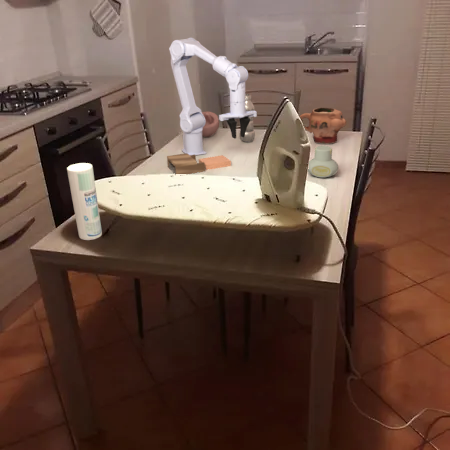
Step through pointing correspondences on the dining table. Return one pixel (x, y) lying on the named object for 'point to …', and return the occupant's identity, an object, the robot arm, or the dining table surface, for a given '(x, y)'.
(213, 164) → the tile
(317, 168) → the air freshener
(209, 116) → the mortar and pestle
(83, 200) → the spray can
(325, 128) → the decorative planter
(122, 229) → the dining table surface
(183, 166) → the cubby
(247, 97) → the plastic bottle
